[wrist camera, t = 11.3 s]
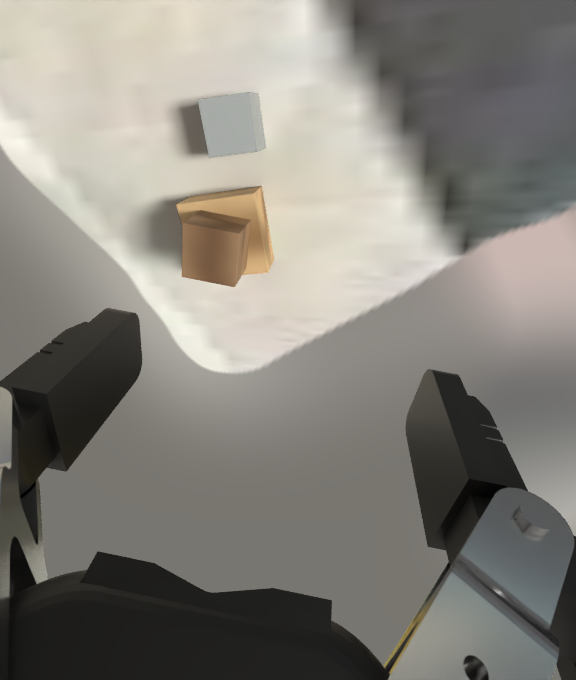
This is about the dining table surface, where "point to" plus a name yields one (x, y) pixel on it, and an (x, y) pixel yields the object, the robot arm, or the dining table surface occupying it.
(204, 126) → the slate-grey cube
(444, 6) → the dining table surface
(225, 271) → the walnut cube
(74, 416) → the robot arm
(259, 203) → the teak block
